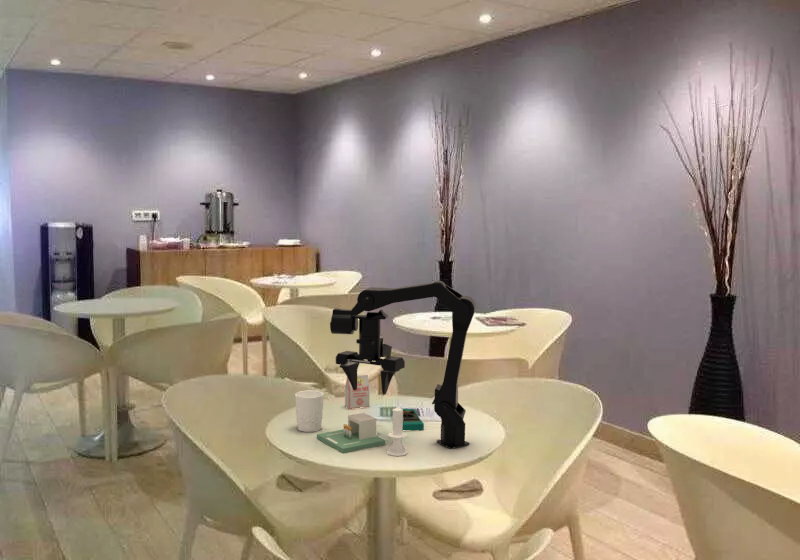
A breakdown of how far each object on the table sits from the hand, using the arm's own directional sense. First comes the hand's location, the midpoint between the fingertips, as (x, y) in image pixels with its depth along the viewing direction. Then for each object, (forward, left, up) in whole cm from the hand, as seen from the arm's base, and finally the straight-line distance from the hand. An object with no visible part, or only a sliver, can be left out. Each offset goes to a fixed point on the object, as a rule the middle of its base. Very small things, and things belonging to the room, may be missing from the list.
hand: (369, 392), depth 201 cm
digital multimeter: (+6, -17, -13) cm, 22 cm away
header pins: (0, +7, -11) cm, 13 cm away
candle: (-14, 0, -13) cm, 19 cm away
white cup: (+16, +10, -13) cm, 23 cm away
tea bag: (+28, -13, -13) cm, 34 cm away
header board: (0, +6, -13) cm, 14 cm away
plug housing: (0, +2, -12) cm, 12 cm away
